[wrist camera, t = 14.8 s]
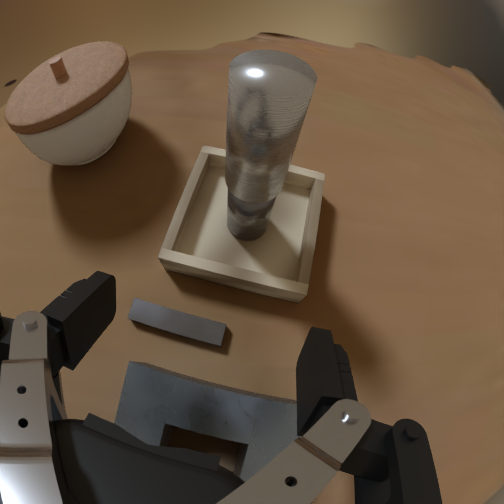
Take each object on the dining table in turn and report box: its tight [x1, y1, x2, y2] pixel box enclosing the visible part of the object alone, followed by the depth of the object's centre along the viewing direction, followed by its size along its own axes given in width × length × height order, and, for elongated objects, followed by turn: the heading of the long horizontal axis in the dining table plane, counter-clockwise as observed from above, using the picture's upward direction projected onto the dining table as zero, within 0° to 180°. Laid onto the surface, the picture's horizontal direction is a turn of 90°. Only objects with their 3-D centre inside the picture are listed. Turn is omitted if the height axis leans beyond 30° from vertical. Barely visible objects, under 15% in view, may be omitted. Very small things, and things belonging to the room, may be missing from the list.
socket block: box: [114, 361, 301, 482], centre depth 15 cm, size 11×11×4 cm
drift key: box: [128, 298, 226, 347], centre depth 21 cm, size 7×2×1 cm, turn 77°
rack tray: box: [158, 145, 325, 303], centre depth 23 cm, size 10×10×2 cm
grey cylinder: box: [225, 50, 317, 241], centre depth 17 cm, size 4×4×14 cm
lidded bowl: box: [5, 41, 132, 165], centre depth 22 cm, size 13×13×11 cm
